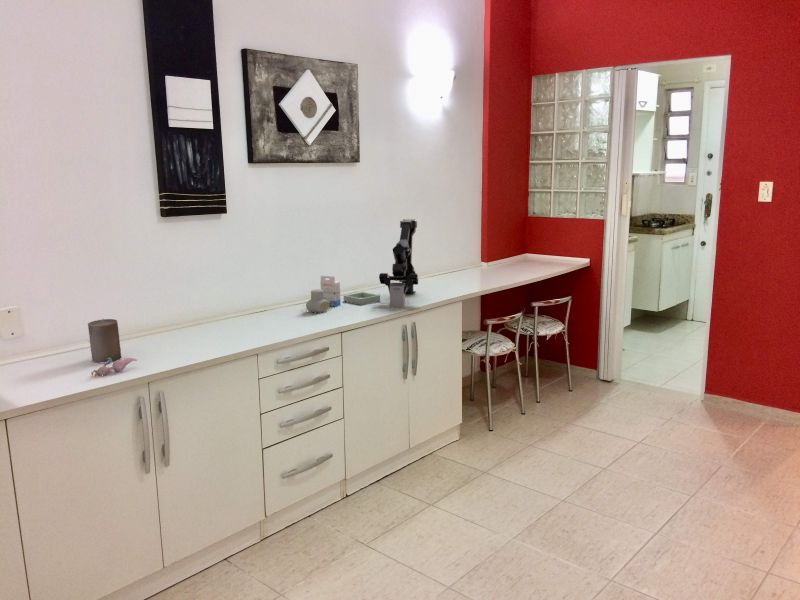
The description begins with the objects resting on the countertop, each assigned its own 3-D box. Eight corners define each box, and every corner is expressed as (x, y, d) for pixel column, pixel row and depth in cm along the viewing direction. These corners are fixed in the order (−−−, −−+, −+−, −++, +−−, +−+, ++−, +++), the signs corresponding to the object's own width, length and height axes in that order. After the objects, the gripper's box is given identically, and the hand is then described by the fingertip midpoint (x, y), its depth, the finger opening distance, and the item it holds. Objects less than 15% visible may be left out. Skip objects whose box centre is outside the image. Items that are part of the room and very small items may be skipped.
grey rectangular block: (391, 304, 324) (391, 282, 322) (405, 305, 323) (404, 282, 321) (389, 307, 318) (389, 284, 316) (403, 307, 317) (403, 285, 315)
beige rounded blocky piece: (317, 314, 304) (316, 293, 302) (303, 312, 309) (302, 291, 307) (332, 310, 313) (331, 289, 311) (318, 308, 318) (317, 287, 316)
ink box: (341, 305, 325) (340, 275, 322) (335, 307, 320) (334, 276, 317) (326, 303, 329) (325, 274, 326) (320, 305, 324) (319, 275, 321)
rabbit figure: (98, 383, 216) (142, 365, 226) (94, 366, 214) (137, 349, 224) (90, 379, 220) (133, 362, 230) (86, 362, 218) (129, 346, 228)
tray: (362, 297, 342) (362, 291, 341) (380, 301, 333) (380, 295, 332) (343, 301, 333) (343, 295, 332) (360, 305, 324) (360, 299, 323)
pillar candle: (124, 354, 242) (120, 314, 239) (117, 362, 233) (113, 320, 230) (96, 356, 241) (91, 316, 238) (88, 364, 232) (83, 322, 229)
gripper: (379, 256, 322) (375, 283, 313) (417, 257, 319) (414, 283, 310) (382, 270, 331) (378, 296, 323) (419, 270, 328) (416, 297, 320)
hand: (396, 293), depth 319 cm, fingers closed on grey rectangular block, 7 cm apart
